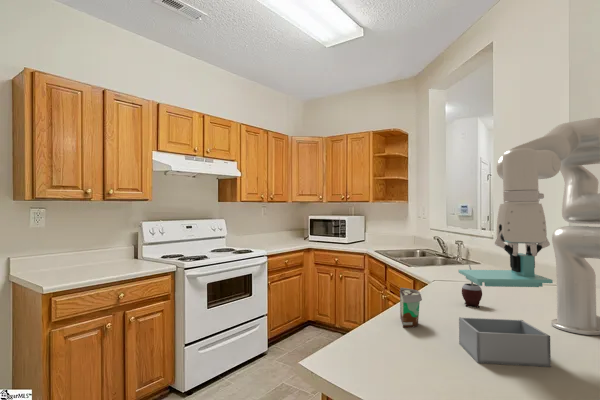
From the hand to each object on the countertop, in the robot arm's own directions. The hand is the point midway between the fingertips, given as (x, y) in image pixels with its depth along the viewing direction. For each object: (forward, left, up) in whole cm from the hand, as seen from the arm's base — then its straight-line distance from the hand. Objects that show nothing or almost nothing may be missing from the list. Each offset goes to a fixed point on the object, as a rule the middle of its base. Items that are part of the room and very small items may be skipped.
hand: (522, 270), depth 86 cm
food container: (+22, -22, -21) cm, 38 cm away
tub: (+5, 0, -21) cm, 21 cm away
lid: (+5, 0, -3) cm, 6 cm away
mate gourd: (-6, -48, -21) cm, 52 cm away
